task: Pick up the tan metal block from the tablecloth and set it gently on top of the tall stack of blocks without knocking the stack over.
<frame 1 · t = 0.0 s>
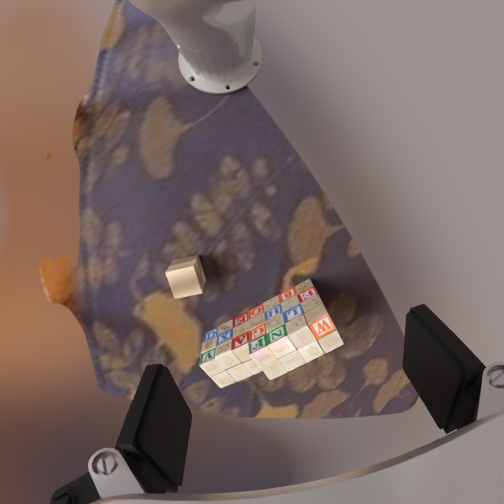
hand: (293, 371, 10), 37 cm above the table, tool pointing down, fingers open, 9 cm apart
tan metal block: (189, 270, 48), on the table
stack of blocks: (263, 319, 52), on the table
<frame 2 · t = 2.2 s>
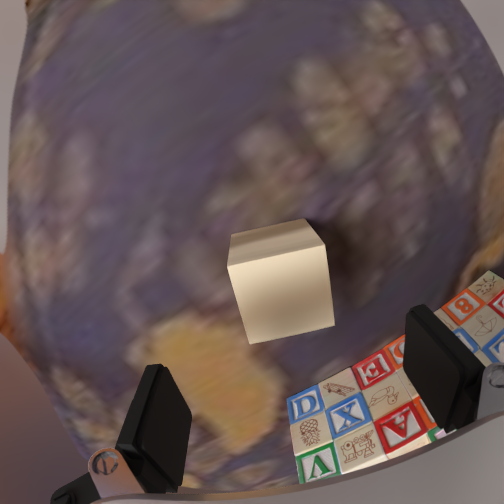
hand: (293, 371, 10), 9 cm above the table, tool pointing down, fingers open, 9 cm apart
tan metal block: (275, 259, 19), on the table
stack of blocks: (404, 356, 22), on the table
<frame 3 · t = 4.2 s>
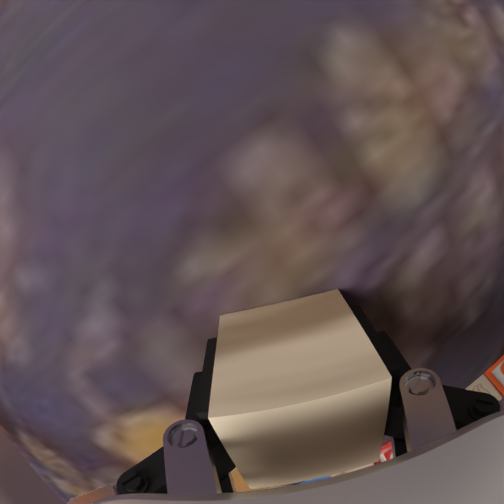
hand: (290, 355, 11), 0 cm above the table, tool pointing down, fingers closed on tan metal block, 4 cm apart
tan metal block: (289, 349, 12), on the table, touching gripper
stack of blocks: (435, 428, 15), on the table
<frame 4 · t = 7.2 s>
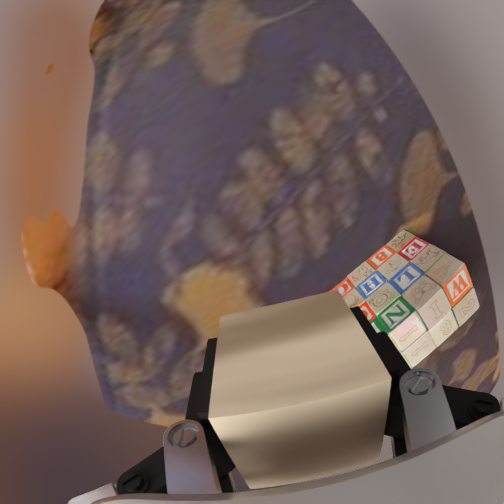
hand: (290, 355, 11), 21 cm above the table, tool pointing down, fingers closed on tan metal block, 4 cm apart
tan metal block: (289, 349, 12), point 21 cm above the table, touching gripper
stack of blocks: (348, 300, 35), on the table
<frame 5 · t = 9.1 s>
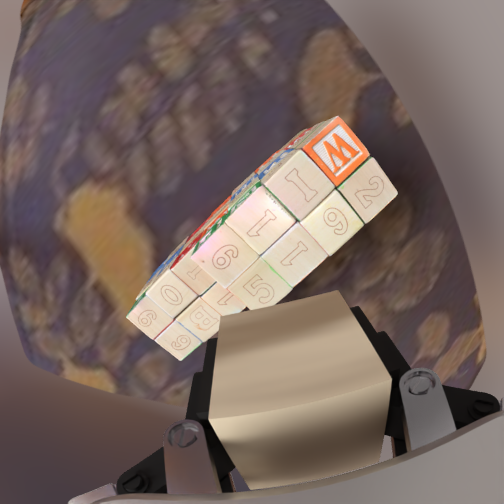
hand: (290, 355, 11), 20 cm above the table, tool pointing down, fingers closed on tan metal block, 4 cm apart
tan metal block: (289, 350, 12), point 19 cm above the table, touching gripper
stack of blocks: (243, 224, 30), on the table
when the fingers open (14 cm above the table, at t = 10.6 s): tan metal block drops 1 cm, resting on stack of blocks.
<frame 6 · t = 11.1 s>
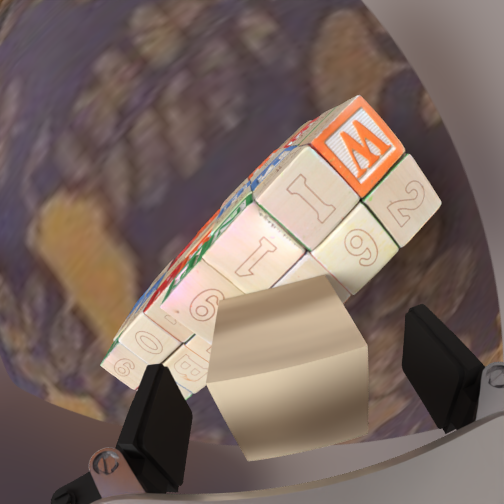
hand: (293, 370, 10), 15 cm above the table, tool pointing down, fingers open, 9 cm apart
tan metal block: (282, 331, 13), point 12 cm above the table, touching stack of blocks
stack of blocks: (237, 242, 25), on the table, touching tan metal block
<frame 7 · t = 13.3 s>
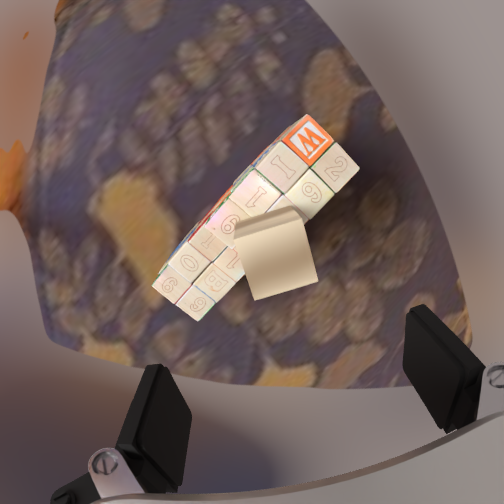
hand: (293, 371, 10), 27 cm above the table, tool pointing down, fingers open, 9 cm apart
tan metal block: (271, 239, 24), point 12 cm above the table, touching stack of blocks
stack of blocks: (244, 208, 36), on the table, touching tan metal block
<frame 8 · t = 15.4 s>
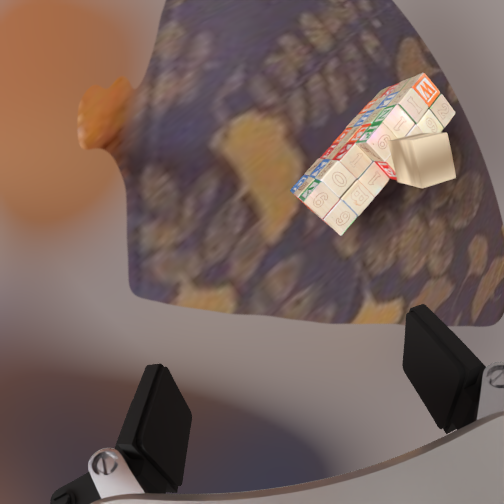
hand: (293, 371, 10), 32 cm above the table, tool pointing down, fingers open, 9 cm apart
tan metal block: (409, 157, 27), point 12 cm above the table, touching stack of blocks
stack of blocks: (353, 150, 39), on the table, touching tan metal block
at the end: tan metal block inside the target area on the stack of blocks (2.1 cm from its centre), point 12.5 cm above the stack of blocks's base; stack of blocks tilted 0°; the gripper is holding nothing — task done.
